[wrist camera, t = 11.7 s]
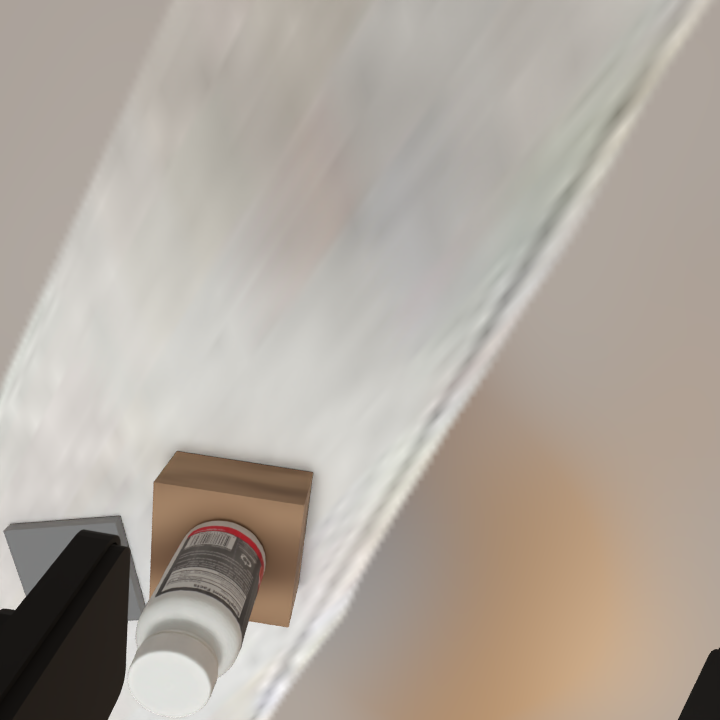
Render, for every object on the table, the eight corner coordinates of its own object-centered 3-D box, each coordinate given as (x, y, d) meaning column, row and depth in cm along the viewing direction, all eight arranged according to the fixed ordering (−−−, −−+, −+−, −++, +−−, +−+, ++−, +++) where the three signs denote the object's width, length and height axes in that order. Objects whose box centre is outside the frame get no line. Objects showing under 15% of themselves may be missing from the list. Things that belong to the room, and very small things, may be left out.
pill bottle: (238, 606, 39) (187, 748, 29) (165, 561, 38) (89, 693, 29) (284, 548, 37) (247, 679, 28) (209, 501, 36) (145, 618, 27)
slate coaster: (10, 524, 43) (3, 530, 42) (120, 515, 42) (115, 522, 41) (42, 618, 45) (36, 626, 44) (146, 611, 44) (142, 619, 43)
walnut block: (176, 451, 40) (153, 481, 36) (313, 472, 40) (304, 505, 36) (171, 565, 43) (149, 605, 39) (298, 585, 43) (288, 627, 39)
